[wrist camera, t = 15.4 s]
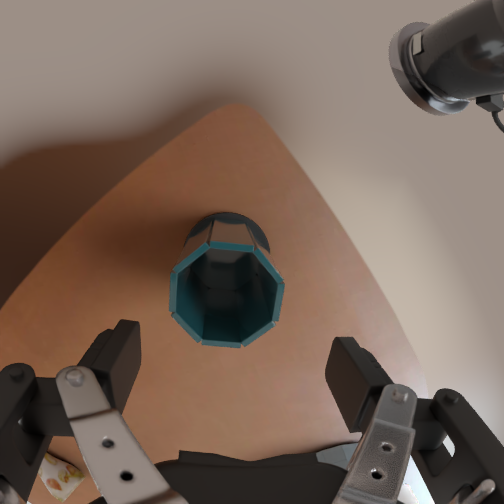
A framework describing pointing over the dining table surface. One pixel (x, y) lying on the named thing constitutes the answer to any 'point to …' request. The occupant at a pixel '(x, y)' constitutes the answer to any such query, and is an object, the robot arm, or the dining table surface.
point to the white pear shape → (59, 477)
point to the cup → (407, 495)
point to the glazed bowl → (337, 455)
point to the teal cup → (225, 285)
